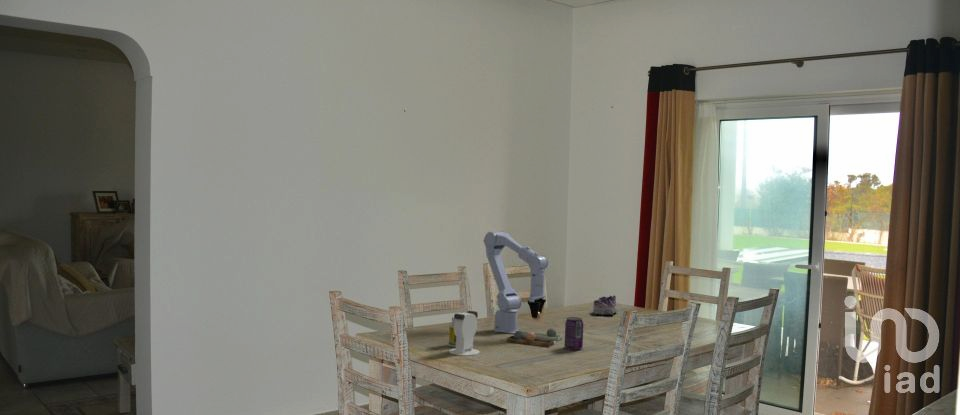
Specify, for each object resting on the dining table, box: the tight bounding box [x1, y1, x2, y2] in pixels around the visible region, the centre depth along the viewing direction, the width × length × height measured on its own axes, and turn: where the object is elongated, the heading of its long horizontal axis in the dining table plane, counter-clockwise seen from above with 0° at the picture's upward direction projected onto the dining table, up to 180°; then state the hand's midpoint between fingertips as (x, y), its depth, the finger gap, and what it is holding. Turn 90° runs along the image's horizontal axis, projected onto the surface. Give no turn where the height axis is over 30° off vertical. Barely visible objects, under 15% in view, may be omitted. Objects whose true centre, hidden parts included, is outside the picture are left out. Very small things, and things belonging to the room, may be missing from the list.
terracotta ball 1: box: [526, 331, 536, 341], centre depth 307 cm, size 4×4×4 cm
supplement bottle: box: [448, 315, 456, 348], centre depth 297 cm, size 6×6×11 cm
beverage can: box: [564, 316, 584, 351], centre depth 300 cm, size 7×7×12 cm
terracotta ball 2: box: [532, 311, 542, 321], centre depth 319 cm, size 4×4×4 cm
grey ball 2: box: [546, 327, 557, 337], centre depth 316 cm, size 4×4×4 cm
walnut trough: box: [506, 335, 555, 348], centre depth 307 cm, size 18×6×2 cm, turn 67°
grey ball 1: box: [513, 330, 524, 340], centre depth 309 cm, size 4×4×4 cm
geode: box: [592, 294, 618, 316], centre depth 385 cm, size 20×12×10 cm, turn 159°
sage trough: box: [521, 330, 564, 344], centre depth 316 cm, size 18×11×2 cm, turn 67°
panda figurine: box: [449, 310, 480, 357], centre depth 287 cm, size 12×11×15 cm
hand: (536, 316), depth 319 cm, fingers closed on terracotta ball 2, 4 cm apart
